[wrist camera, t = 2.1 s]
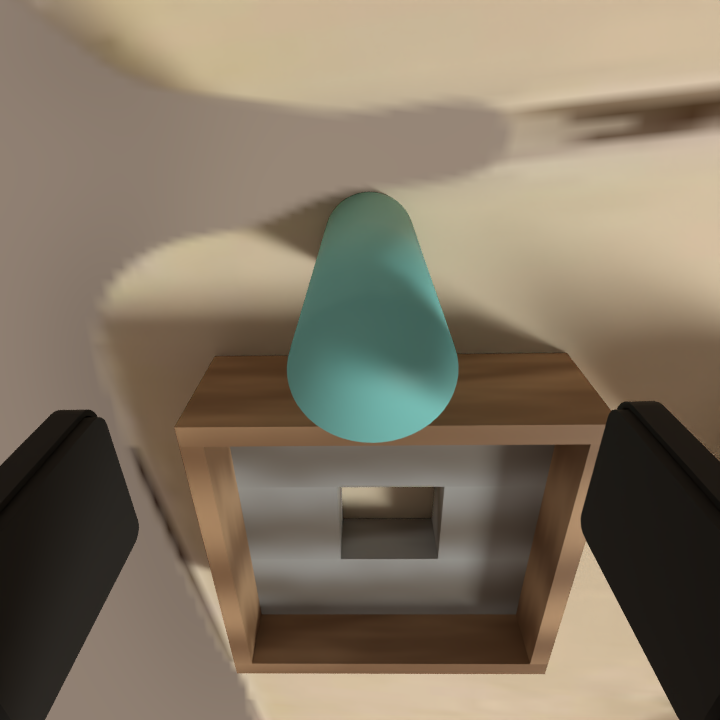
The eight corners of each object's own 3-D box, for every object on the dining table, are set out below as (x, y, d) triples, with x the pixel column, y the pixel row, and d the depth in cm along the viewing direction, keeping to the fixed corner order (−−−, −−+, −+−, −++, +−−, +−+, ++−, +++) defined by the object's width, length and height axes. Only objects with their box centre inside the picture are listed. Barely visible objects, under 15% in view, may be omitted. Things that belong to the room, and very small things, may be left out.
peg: (322, 192, 21) (278, 296, 10) (415, 191, 21) (465, 294, 10) (327, 280, 23) (294, 443, 12) (412, 279, 23) (451, 442, 12)
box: (214, 356, 25) (174, 427, 20) (566, 352, 24) (621, 424, 19) (257, 582, 34) (237, 673, 28) (516, 582, 33) (544, 673, 28)
